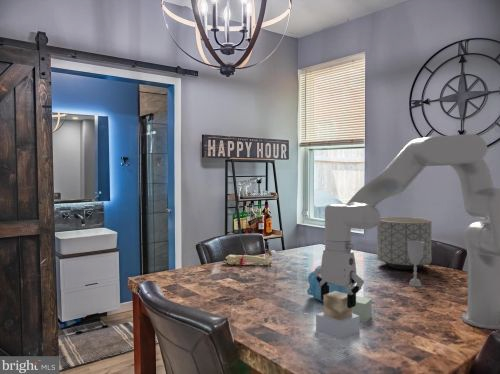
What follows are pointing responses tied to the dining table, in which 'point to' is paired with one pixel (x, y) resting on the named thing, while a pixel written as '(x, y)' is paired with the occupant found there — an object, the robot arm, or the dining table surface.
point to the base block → (337, 325)
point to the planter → (402, 240)
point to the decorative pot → (316, 289)
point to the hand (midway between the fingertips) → (337, 302)
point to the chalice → (415, 258)
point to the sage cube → (363, 308)
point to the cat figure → (248, 259)
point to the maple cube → (336, 305)
